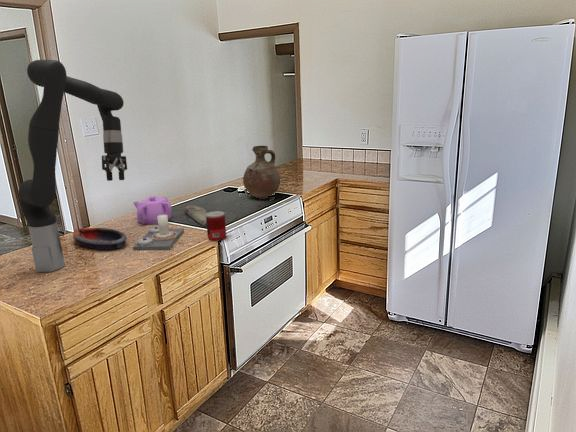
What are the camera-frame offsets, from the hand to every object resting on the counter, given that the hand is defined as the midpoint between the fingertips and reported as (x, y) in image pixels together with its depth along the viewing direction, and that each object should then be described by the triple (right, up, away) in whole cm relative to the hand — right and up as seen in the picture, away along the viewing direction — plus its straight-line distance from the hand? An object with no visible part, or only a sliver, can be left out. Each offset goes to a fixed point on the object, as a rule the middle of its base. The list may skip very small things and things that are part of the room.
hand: (116, 180), depth 186 cm
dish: (-8, -27, +3) cm, 28 cm away
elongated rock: (+29, -17, +35) cm, 48 cm away
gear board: (+18, -26, +3) cm, 32 cm away
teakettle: (+6, -18, +34) cm, 38 cm away
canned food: (+42, -25, +4) cm, 49 cm away
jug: (+58, -4, +72) cm, 93 cm away
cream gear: (+20, -24, +3) cm, 32 cm away
